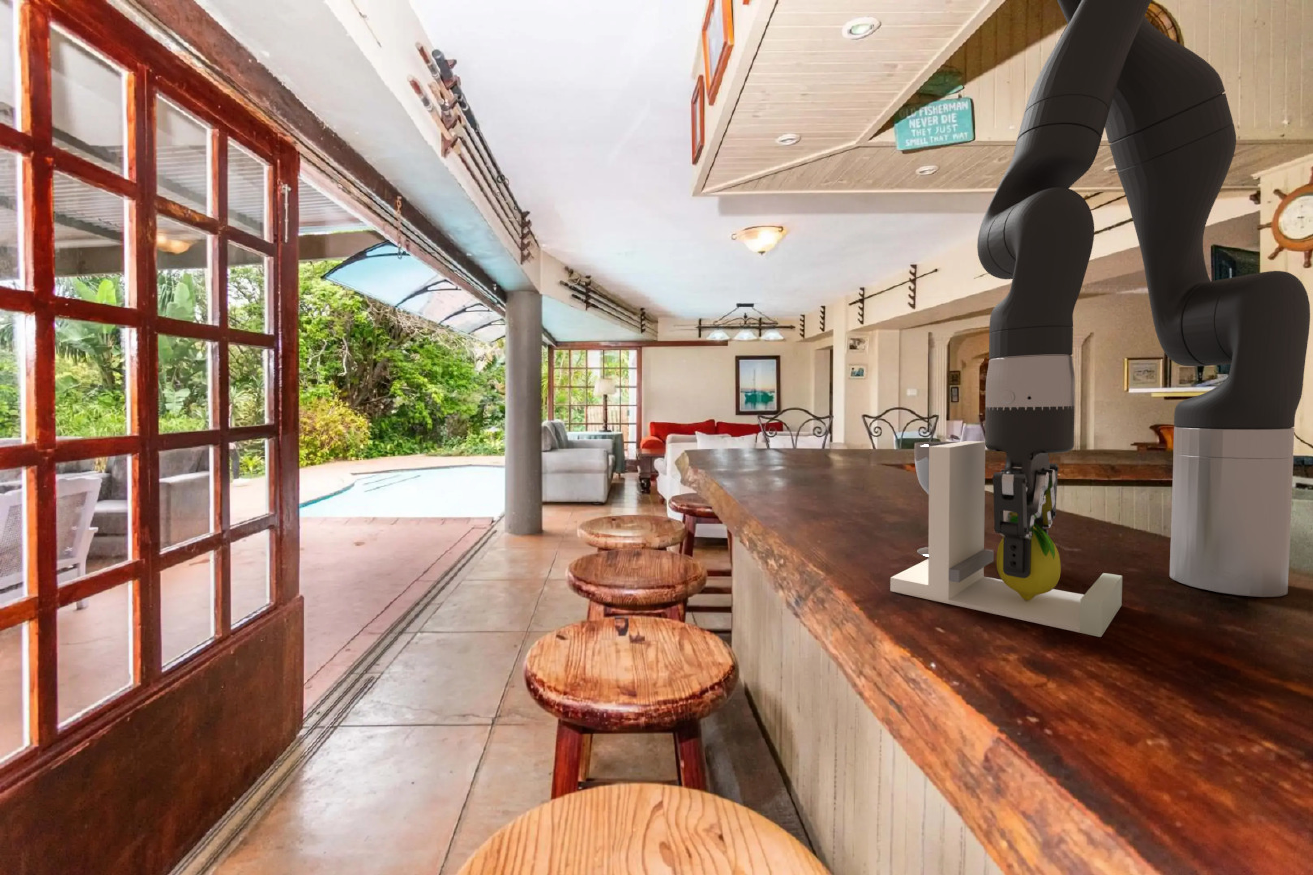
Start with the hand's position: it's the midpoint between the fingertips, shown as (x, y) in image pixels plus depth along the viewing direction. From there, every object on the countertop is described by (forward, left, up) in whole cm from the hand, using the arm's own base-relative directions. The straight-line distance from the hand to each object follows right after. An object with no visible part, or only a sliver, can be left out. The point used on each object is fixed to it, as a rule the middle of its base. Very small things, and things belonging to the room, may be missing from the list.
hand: (1026, 568), depth 59 cm
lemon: (0, 0, -3) cm, 3 cm away
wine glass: (-15, -13, -4) cm, 20 cm away
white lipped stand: (0, -2, -4) cm, 4 cm away
